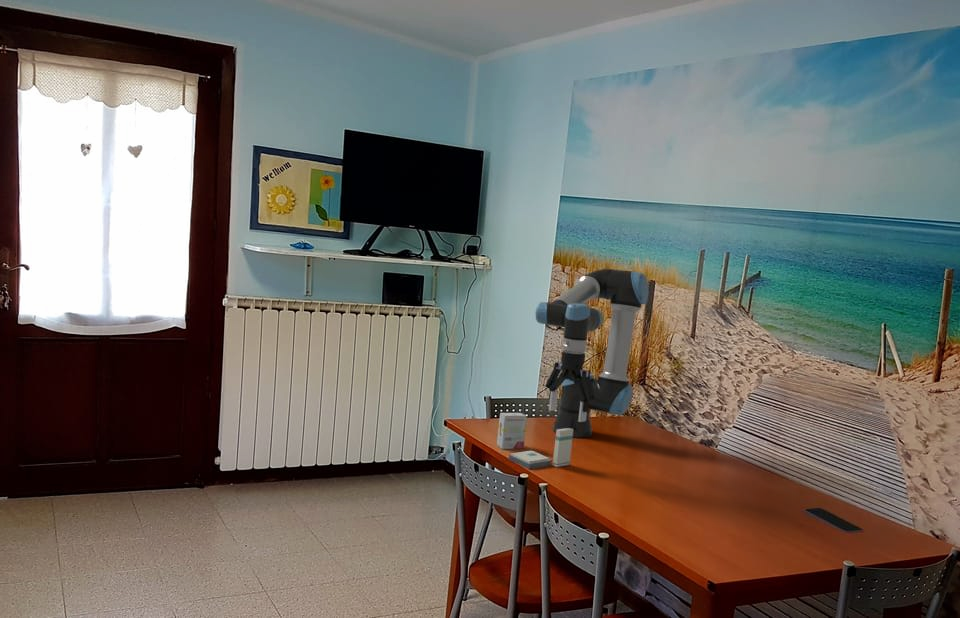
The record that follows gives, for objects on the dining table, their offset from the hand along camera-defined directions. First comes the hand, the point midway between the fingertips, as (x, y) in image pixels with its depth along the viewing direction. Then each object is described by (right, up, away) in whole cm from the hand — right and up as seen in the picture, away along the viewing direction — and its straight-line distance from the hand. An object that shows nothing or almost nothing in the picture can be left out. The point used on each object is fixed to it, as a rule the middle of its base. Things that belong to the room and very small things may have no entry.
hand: (566, 415), depth 229 cm
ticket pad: (-12, -16, +1) cm, 20 cm away
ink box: (-18, -14, +17) cm, 28 cm away
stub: (-2, -17, +1) cm, 17 cm away
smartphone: (+74, -27, -25) cm, 83 cm away
